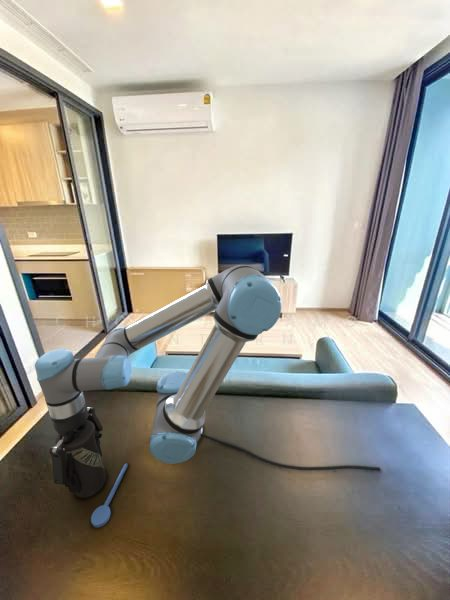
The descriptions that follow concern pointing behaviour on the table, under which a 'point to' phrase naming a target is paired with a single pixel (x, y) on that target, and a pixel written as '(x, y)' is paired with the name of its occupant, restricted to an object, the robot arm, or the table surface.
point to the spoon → (106, 504)
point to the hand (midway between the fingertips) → (87, 472)
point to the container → (86, 461)
